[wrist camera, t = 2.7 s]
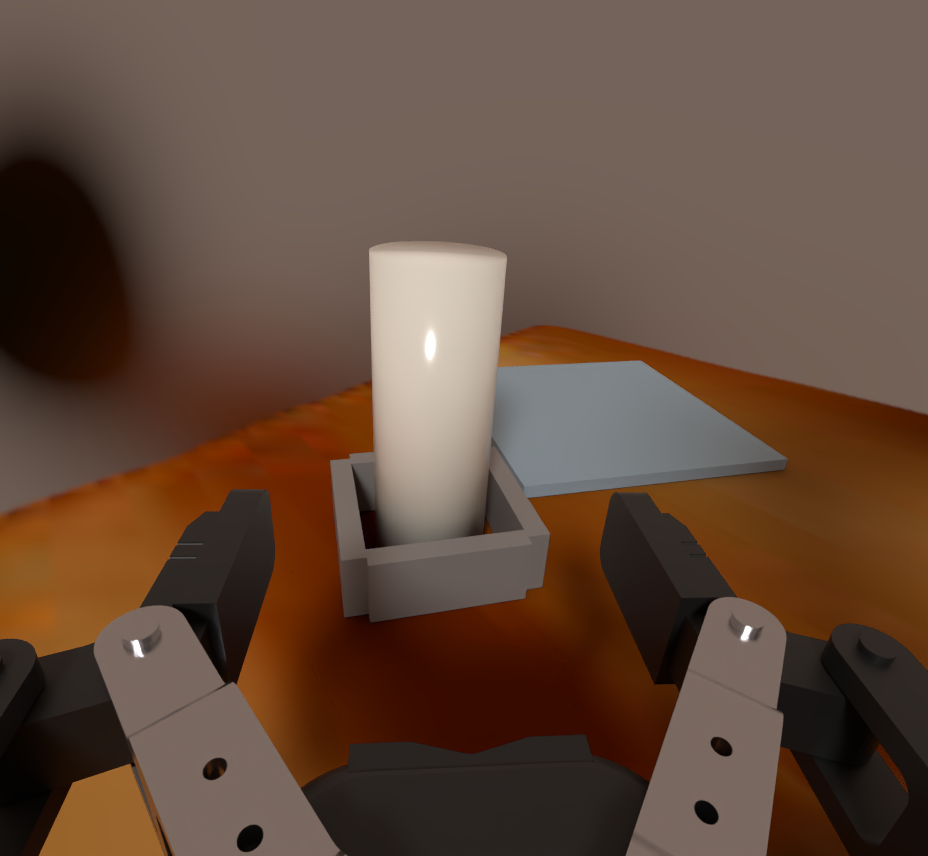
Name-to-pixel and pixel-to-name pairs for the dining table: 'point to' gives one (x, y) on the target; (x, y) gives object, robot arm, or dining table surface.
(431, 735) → the dining table surface
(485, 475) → the cream tall cylinder
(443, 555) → the cup holder
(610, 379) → the mat
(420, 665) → the dining table surface
